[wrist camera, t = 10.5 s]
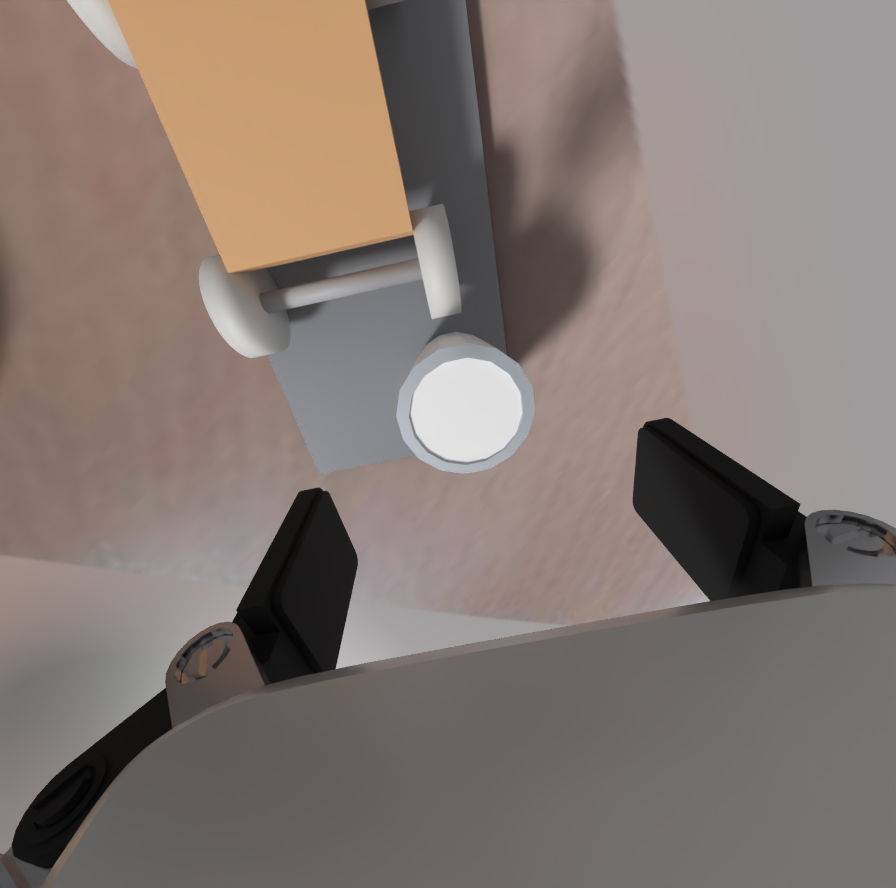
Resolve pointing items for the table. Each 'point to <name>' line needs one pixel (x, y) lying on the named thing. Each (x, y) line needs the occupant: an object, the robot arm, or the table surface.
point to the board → (397, 251)
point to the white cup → (464, 404)
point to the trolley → (279, 149)
